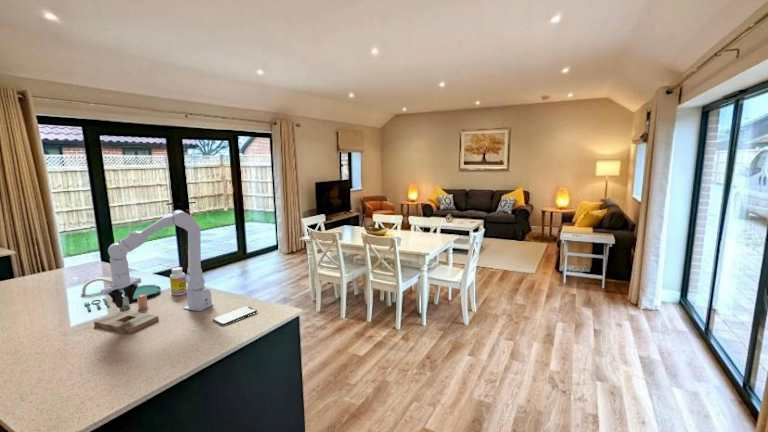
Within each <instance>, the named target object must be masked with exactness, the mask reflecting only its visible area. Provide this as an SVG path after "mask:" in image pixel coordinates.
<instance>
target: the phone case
mask: <svg viewBox="0 0 768 432" xmlns="http://www.w3.org/2000/svg"><path fill="white" fill-rule="evenodd" d="M256 312H257V313H258V311H257V309H255V308H253V307H250V306H248V305H246V306H243V307H242V306H241V307H240V308H237V309H234V310H232V311H229V312H227V313H224V314H221V315H218V316H217V317H214V318H212V322H213V323H214V322H216V323H218V324H220V325H226V324H228V325H230V324H229V323H231V322H233V321H236V320H238V319H241V318H243V317H246V316H248V315H250V314H253V313H256ZM257 313H256V314H257ZM246 318H247V317H246ZM241 320H242V319H241ZM236 322H237V321H236ZM216 323H215V324H216ZM218 324H217V325H218ZM231 324H232V323H231ZM220 325H219V326H220ZM226 326H227V325H226Z"/></svg>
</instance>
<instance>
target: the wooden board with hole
mask: <svg viewBox="0 0 768 432" xmlns="http://www.w3.org/2000/svg"><path fill="white" fill-rule="evenodd" d="M159 319H160V318H159V316H158V315H154V314H149V313H143V312H138V311H131V310H128V311H125V312H120V311H118V312H115V313H112V314H110V315H107V316H105V317H103V318H100V319H97V320H95V321H93V325H94V327H96V328H100V329H105V330H108V331H109V330H110V331H115V332H120V333H122V334H123V333H125V334H129V335H131V334H132V333H136V332H137V331H140V330H142V329H144V328H146V327H148V326H150V325H152V324H155V323H157V322H159Z"/></svg>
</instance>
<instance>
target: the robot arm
mask: <svg viewBox="0 0 768 432" xmlns="http://www.w3.org/2000/svg"><path fill="white" fill-rule="evenodd" d="M175 226H177V227H179V228H182V229H184V230H185V231H187V258H188V260H187V261H188V263H187V265H188V267H187V269H186V270H187V273H186V274H185V281H186V284H187V285H186V289H187V292H186V296H187V297H186V298H187V305H186V306H184V307H183V309H184V310H189V311H196V312H202V311H204V310H205V309H208V308H210V307H212V306H214V303H213V302H212V301H213V299H212V293H211V290H210V289H208V288H206V287H205V283H206V281H205V278H204V276H203V269H202V265H201V261H202V259H201V258H202V256H201V252H202V251H201V248H202V247H201V244H202V242H201V241H202V240H201V227H200V225H199V224H198V222H197V221H196V220H195V219H194V217H193V216H192V215H190V214H189V213H187V212H185V211H183V210H181V209H176V210H174V211H172V212H170V213H167V214H166V215H164V216H163V217H160V218H159V219H158V220H157V221H154V223H152V224H150V225H149V226H147V227H145V228H144V229H143V230H141V231H140V230H135V231H130V232H128V235H126V236H125V237H123V238H121V239H118V240H116V242H114V243H112V244H110V245H109V247H108V248H107V253H108V255H109V262H110V263H109V266H110V273H111V277H112V282H113V285H111V284H110V285H108V286H107V287H104V288H101V289H100V292H101V295H103V296H107V295H109V297H110V298H111V299H112V300H113V302H114V304H115V306H116V308H118V309H119V308H122V293H123V292H120V291H121V290H124V292H125V294H128V295H129V303H130V305H132V304H133V301H134V300H133V296H134V293H135V291H136V289H137V287H138V286H137V285H136V284H141V283H142V277H137V278H135V279H131V280H130V277H131V276H130V269H129V261H128V258H127V254H128V253H130V252H132V251H134V250H135V249H137V248H139V247H141V246H142V245H143V244H145V243H146V241H147V238H149V237H151V236H153V235H154V234H155V233H157V232H160V231H161V230H162V229H164V228H173V227H175Z"/></svg>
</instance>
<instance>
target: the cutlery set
mask: <svg viewBox="0 0 768 432" xmlns="http://www.w3.org/2000/svg"><path fill="white" fill-rule="evenodd" d="M119 291H120V292H123V293H122V295H123V294H125V292H124V289H121V290H119ZM160 293H161V287H160V286H159V285H156V284H143V285H140V286H137V289H136V291H135V293H134V296H133V301H137V296H138V295H142V294H146V297H147V298H148V297H151V296H153V295H157V294H160ZM102 300H103V301H104V304H105V305H106V306H107V308H110V305H109V303H108V300H107V299H106V298H105V297H103V298H102ZM100 303H101V299H94V300H92V301H91V303H90V302H89V301H88V302H84V307H86V308H87V309H88V312H89V313H90V312H92V309H91V307H90V306H91V304H92V305H97V308H98V310H101V309H102V307H101V306H100V305H99V304H100Z"/></svg>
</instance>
